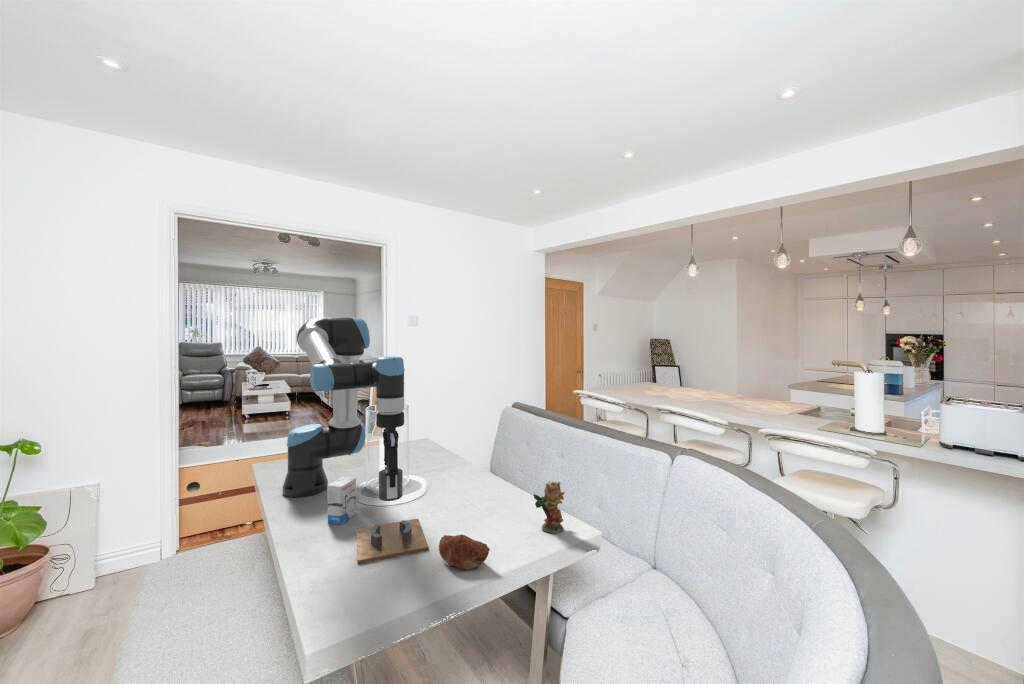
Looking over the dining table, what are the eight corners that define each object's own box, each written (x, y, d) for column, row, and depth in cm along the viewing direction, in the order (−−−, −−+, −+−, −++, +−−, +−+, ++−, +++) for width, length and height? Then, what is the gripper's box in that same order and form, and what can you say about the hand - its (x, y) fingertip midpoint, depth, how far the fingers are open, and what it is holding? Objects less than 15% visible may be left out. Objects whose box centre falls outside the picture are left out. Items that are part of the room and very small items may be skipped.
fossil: (429, 545, 108) (452, 513, 108) (450, 548, 114) (471, 517, 114) (454, 584, 99) (478, 549, 99) (475, 585, 105) (498, 552, 105)
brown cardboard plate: (356, 531, 122) (356, 520, 122) (418, 521, 129) (418, 510, 129) (357, 564, 105) (357, 550, 105) (428, 550, 112) (428, 537, 112)
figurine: (566, 525, 126) (567, 477, 126) (561, 537, 119) (561, 486, 119) (538, 521, 129) (538, 473, 129) (531, 532, 122) (531, 482, 122)
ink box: (341, 525, 126) (340, 487, 126) (326, 523, 127) (326, 485, 127) (357, 512, 135) (356, 477, 134) (343, 511, 136) (343, 475, 135)
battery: (378, 493, 118) (377, 468, 118) (401, 490, 121) (401, 465, 120) (379, 502, 112) (379, 475, 112) (403, 499, 115) (403, 472, 114)
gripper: (374, 406, 123) (374, 483, 124) (378, 419, 105) (379, 509, 106) (400, 405, 126) (400, 479, 127) (408, 417, 108) (409, 504, 109)
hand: (390, 493), depth 116 cm, fingers closed on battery, 6 cm apart
